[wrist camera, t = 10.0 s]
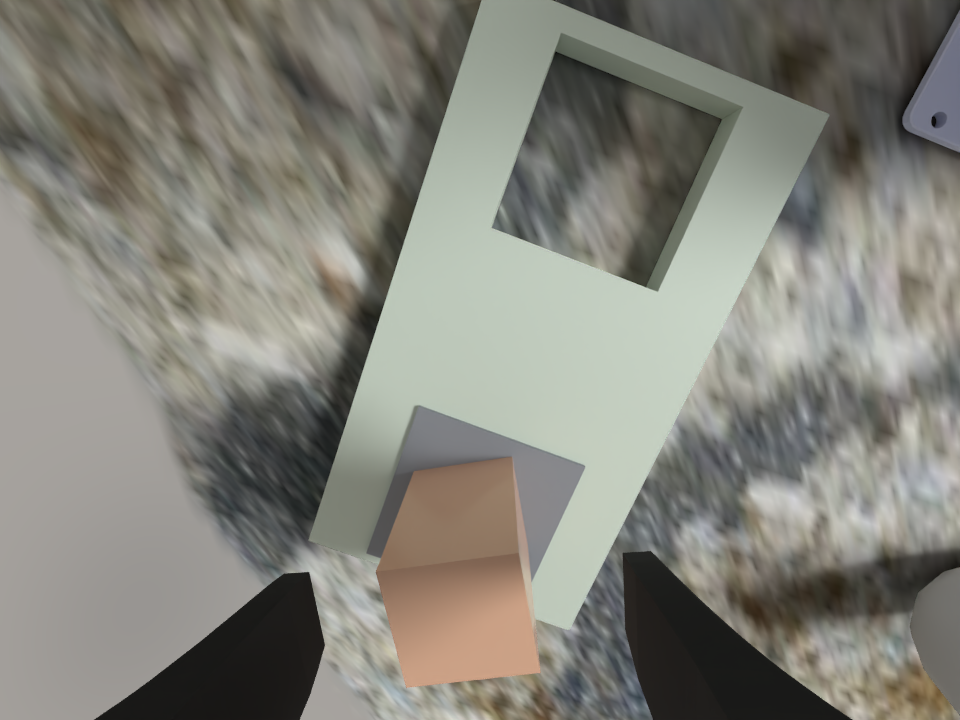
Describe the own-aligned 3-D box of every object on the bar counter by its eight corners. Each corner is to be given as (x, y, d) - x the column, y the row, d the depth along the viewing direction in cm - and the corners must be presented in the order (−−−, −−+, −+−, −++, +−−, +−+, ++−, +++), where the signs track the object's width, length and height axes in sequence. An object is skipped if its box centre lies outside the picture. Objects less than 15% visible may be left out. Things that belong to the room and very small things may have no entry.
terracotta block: (512, 456, 18) (518, 553, 13) (527, 544, 19) (540, 672, 13) (413, 471, 19) (376, 571, 13) (433, 557, 20) (406, 687, 14)
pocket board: (801, 126, 17) (834, 112, 15) (564, 604, 22) (569, 634, 20) (490, -2, 16) (489, -30, 15) (321, 520, 21) (306, 543, 20)
